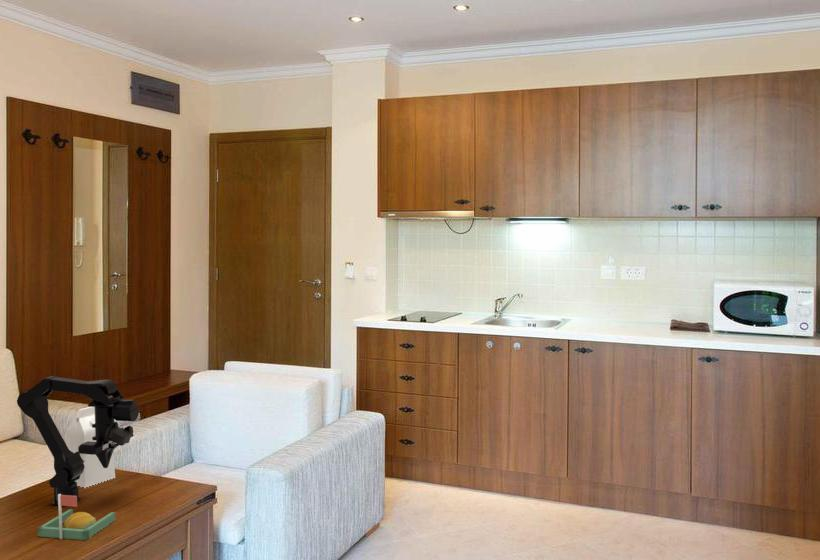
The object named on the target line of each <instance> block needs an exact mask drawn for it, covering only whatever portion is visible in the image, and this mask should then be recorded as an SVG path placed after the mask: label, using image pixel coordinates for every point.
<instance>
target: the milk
mask: <svg viewBox="0 0 820 560" xmlns="http://www.w3.org/2000/svg"><path fill="white" fill-rule="evenodd" d="M92 424H95V407H89V406H87V407H83V408H79V409H78V411H77V414H76V418H75V419H74V420H73V421H72V422H71V423H70V424H69V426H67V429H66V430H65V431H66V432H65V443H66V445H67V447H68V449H69V450H70V451H71V452H73V453H76V452H78V447H79V446H80V445H81V444H83V443H85V442H87V441H90V442H96V440H92V437H94V436H95V428H92ZM80 456H81V458H82V460H84V467H85V468H84V471H83V473H82V474H81V475H80V478H79V479H78V480H76V481H75V482H77V487H78V486H80V487H79V488H82V487H84V488H83V489H87V488H86V487H88V488H90V487H89V486H91V487H93V486H92V485H94V486H96V485H99V484H102V483H104V481H105V482H108V481H111V480H113V478H114V479H116V470H115V458H114V452H113V453H112V456H111V459H110V462H109V465H108V467H107V468H103V466H102V464H101V463H100V461H99V459H98V457H97V456H96V455H91V454H80ZM110 479H111V480H110ZM107 480H108V481H107ZM101 482H102V483H101ZM98 483H99V484H98ZM95 484H96V485H95Z"/></svg>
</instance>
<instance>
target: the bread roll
mask: <svg viewBox="0 0 820 560" xmlns="http://www.w3.org/2000/svg"><path fill="white" fill-rule="evenodd" d="M96 522H97V520H96V517H94V516H92V515H91V514H90V513H89V512H85V511H77V512H73V514H72V515H70V516H69V517H68V518H67V519H66V520H65V522H64V523H63V527H64V528H70V529H84V530H85V529H87V528H88V527H90V526H91V525H93V524H94V523H96Z"/></svg>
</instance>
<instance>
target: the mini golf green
mask: <svg viewBox="0 0 820 560" xmlns="http://www.w3.org/2000/svg"><path fill="white" fill-rule="evenodd" d="M57 507H58V515H57V516H56V517H54V518H53V519H51V520H48V522H45V523H44V524H42V525H39V527H37V536H38V537H39V538H40V537H41V538H54V539H55V538H56V539H59V540H63V539H64V540H65V539H67V540H68V539H69V540H81V541H82V540H83V541H87V540H89V539H90V538H92V537H93V536H95V535H96V534H98V533H100V532H101V531H102V530H103V528H104V529H105V528H107V527H108V526H109V525H111V524H112V523H114V522H115V521H116V511H115V512H113V511H112V512H109V513H108V514H107V515H105V516H103V517H102V518H100V519H99V520H98V521H97V520H96V523H94V524H93V525H91V526H90V527H88V528H87V529H85V530H84V529H70V528H65V527H63V525H64V522H65V520H66V519H67V518H68V517H69V516H70V515H72V514H74V509H72V508H70V509H67V510H66V511H64V512H62V511H63V510H62V507H75V508H76V507H78V501H77V496H69V495H61V494H58V505H57ZM113 521H114V522H113ZM110 523H111V524H110ZM100 530H101V531H100ZM97 532H98V533H97ZM94 534H95V535H94Z"/></svg>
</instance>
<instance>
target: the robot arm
mask: <svg viewBox="0 0 820 560" xmlns="http://www.w3.org/2000/svg"><path fill="white" fill-rule="evenodd" d="M53 391H55V392H62V393H67V394H68V393H69V394H77V395H83V396H86V397H87V398H88V399H90V400H91V402H90V403H88V404H87V407H95V424H92V428H95V436H94V437H92V440H96V442H90V441H87V442H85V443H83V444H81V445H80V446H79V447H78V452H76V453H73V452H71V451H70V450H69V449H68V447H67V445H66V440H65V439H64V438H63V436H62V434H61V432H60V431H59V429H58V427H57V425H56V422H54V419H53V418H52V416H51V414H50V413H49V400H48V396H49V395H51V393H53ZM16 404H17V406H18V407H19V409H20V410H21V412H22V413H23V414H24V415H26V416H27V417H29V418H30V419H32V421H33V422H34V424H35V426H36V428H37V430H38V432H39V434H40V435H41V436H42V438H43V441H44V442H45V444H46V445H47V448H48V450H49V451H50V453H51V455H52V457H53V470H54V472H55V474H54V475H53V477H51V479H50V480H49V481H48V483H49V486H50V488H53V501H52V502H50V505H52V506H58V494H61V495H69V496H77V502H78V501H79V500H81V496H79V495H80V494H79V487H78V486H77V482H75V481H76V480H78V479H79V478H80V475H81V474H82V473H83V471H84V468H85V467H84V460H82V458H81V456H80V454H91V455H96V456H97V457H98V459H99V461H100V463H101V464H102V466H103V468H107V467H108V465H109V462H110V459H111V456H112V453H113V454H114V450H115V449H116V448H118V447H119V446H121V447H122V446H125V445H126V444H129V443H130V440H131V438H133V437H134V428H133V426H131V425H127V426H125V427H119V423H118V422H136V421H137V419H138V418H139V414H140V409H139V406H138V404H137V403H136V400H135V399H125V397H124V396H123V395H122V393H121V392H120V391H119V389H118V388H117V385H116V383H115V382H114V380H112V379H97V380H89V381H88V380H80V379H75V378H67V377H60V376H55V375H51V376H48V377H45V378H42V380H40V381H39V382H38V383H37V384H35V385H34V386H33V387H31V388H30V389H28V390H27V391H24V392H22V393H20V394H19V395H18V396H17V399H16Z"/></svg>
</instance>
